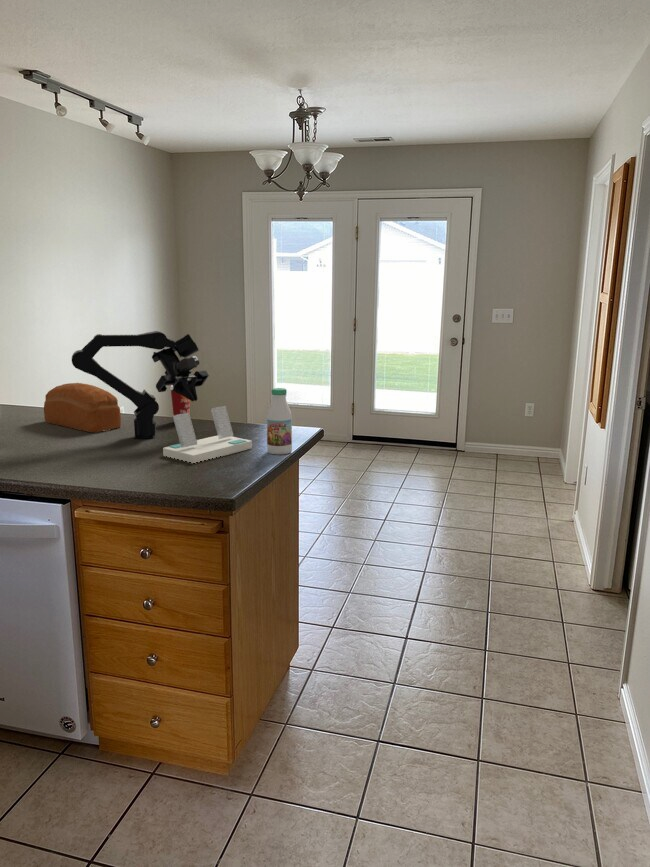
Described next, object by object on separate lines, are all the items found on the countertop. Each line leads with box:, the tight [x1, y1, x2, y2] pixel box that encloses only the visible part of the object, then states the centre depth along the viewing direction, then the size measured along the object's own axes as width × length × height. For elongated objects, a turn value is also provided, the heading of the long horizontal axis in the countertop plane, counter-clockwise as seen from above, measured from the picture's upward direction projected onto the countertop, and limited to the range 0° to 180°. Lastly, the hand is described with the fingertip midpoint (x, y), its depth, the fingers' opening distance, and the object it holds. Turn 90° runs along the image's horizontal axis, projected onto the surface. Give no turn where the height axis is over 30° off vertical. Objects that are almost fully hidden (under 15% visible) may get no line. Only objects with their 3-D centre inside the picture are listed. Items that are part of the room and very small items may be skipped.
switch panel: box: [162, 434, 253, 464], centre depth 204 cm, size 14×24×3 cm, turn 141°
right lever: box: [210, 405, 235, 439], centre depth 209 cm, size 2×5×10 cm, turn 141°
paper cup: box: [169, 385, 191, 416], centre depth 246 cm, size 8×8×14 cm
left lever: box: [172, 413, 198, 448], centre depth 197 cm, size 2×5×10 cm, turn 141°
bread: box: [43, 382, 122, 433], centre depth 241 cm, size 14×33×16 cm, turn 53°
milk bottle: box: [266, 387, 293, 456], centre depth 202 cm, size 8×8×20 cm
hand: (195, 400), depth 216 cm, fingers closed
